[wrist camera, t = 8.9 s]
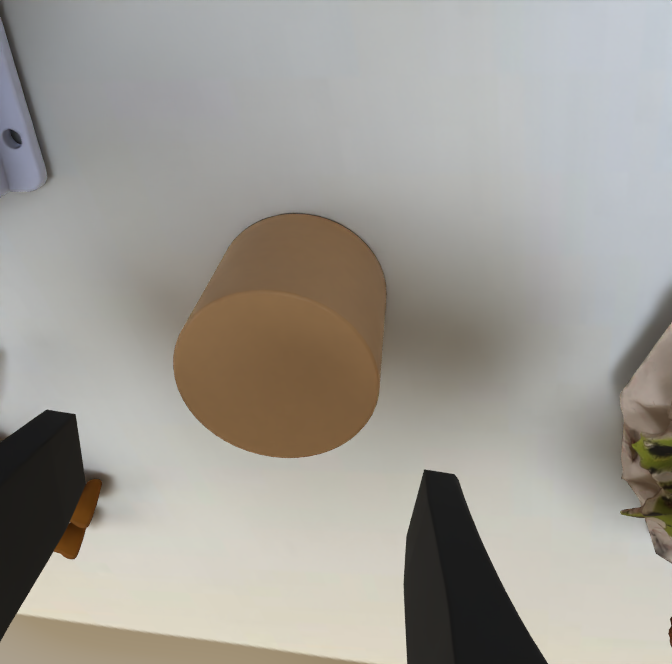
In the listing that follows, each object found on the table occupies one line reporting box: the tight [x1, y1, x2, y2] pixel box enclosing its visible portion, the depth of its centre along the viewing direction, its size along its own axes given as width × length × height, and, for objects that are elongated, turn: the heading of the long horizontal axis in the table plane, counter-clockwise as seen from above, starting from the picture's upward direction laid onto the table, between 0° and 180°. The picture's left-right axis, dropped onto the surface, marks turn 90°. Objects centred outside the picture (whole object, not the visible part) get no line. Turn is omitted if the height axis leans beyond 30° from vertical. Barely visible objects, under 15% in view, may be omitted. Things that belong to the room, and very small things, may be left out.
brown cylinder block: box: [173, 214, 387, 458], centre depth 18 cm, size 5×5×5 cm
